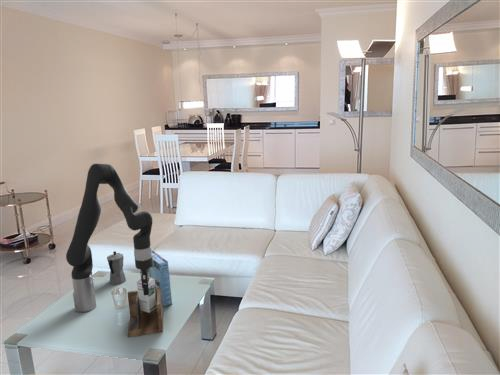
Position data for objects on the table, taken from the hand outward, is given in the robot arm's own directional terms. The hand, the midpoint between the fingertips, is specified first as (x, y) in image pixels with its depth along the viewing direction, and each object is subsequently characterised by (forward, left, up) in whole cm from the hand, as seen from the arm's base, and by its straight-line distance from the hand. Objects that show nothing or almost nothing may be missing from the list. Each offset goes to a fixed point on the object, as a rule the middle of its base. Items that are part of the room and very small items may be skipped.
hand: (146, 290), depth 177 cm
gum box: (+4, +24, -17) cm, 30 cm away
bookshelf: (-2, 0, -17) cm, 17 cm away
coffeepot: (-20, +50, -17) cm, 56 cm away
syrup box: (0, 0, -9) cm, 9 cm away
